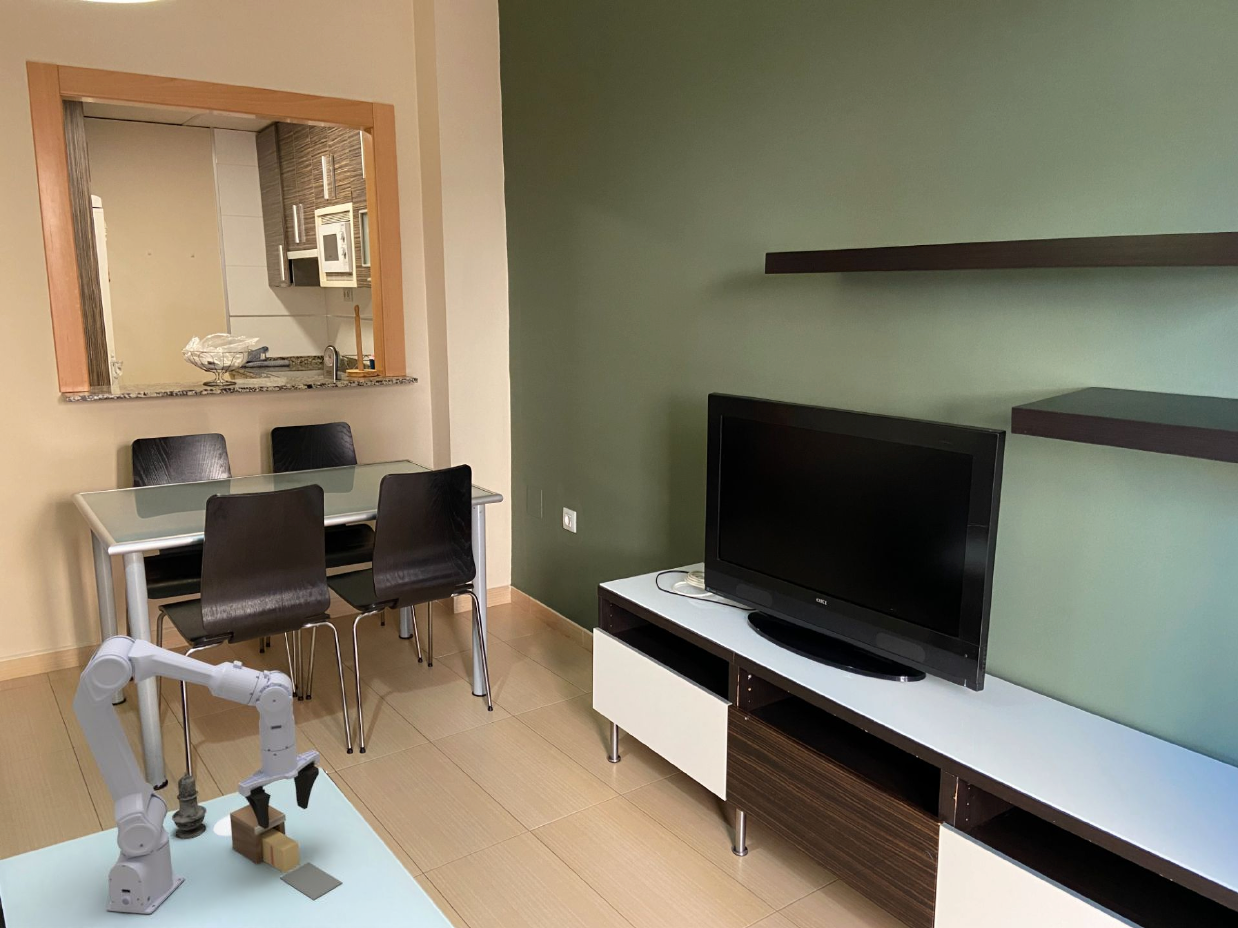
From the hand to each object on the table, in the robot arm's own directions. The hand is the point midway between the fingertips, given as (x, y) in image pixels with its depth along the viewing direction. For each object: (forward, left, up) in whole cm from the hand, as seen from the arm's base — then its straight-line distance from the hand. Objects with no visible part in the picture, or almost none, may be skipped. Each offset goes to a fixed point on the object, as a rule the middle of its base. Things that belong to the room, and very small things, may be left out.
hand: (283, 816), depth 157 cm
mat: (-4, -6, -9) cm, 12 cm away
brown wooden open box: (+4, +8, -9) cm, 13 cm away
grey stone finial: (+8, +24, -10) cm, 27 cm away
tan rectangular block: (+2, +4, -10) cm, 11 cm away
